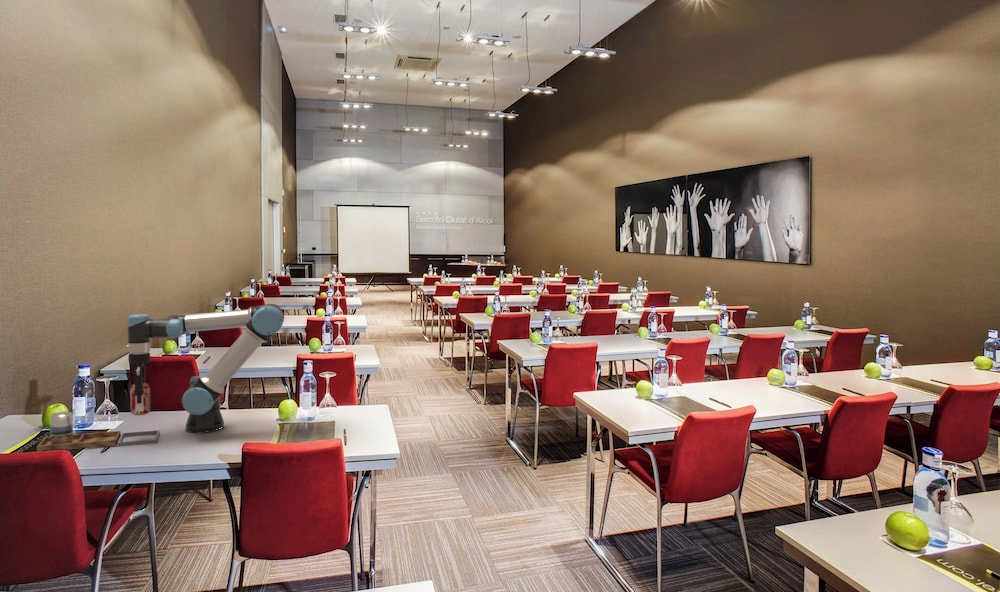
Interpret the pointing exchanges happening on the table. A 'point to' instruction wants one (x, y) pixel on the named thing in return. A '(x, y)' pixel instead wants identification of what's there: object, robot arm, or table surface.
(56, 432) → the translucent grey rounded cylinder
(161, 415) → the table surface
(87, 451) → the table surface
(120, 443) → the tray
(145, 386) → the soda can
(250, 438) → the table surface
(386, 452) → the table surface
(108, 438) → the caddy
